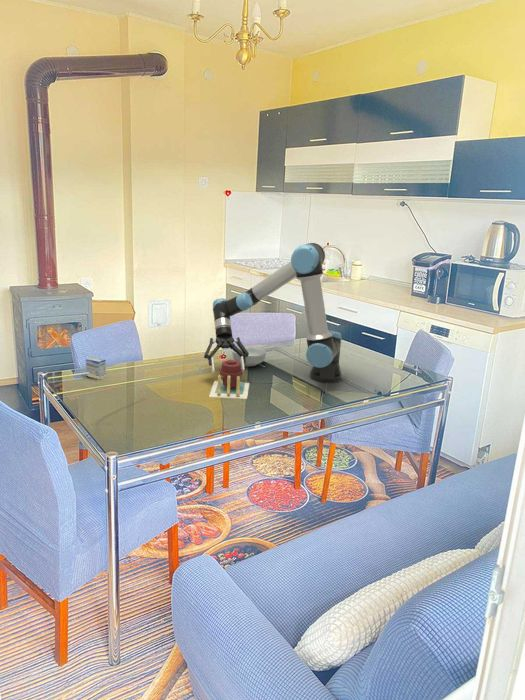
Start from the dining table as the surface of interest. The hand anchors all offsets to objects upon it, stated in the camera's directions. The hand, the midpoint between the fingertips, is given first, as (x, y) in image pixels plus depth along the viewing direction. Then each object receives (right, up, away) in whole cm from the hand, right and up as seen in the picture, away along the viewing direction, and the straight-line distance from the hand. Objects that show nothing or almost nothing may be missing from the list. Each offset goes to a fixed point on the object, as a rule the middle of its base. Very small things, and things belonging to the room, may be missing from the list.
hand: (228, 371), depth 228 cm
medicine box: (-61, -3, +6) cm, 61 cm away
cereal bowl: (+8, +2, +33) cm, 34 cm away
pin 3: (+5, -10, -12) cm, 16 cm away
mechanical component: (+1, -7, -2) cm, 8 cm away
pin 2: (+1, -10, -12) cm, 15 cm away
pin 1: (-3, -10, -12) cm, 15 cm away
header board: (+1, -9, -4) cm, 10 cm away
